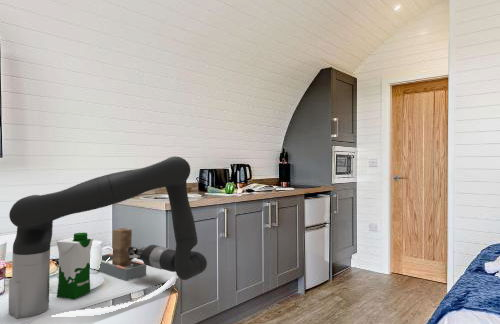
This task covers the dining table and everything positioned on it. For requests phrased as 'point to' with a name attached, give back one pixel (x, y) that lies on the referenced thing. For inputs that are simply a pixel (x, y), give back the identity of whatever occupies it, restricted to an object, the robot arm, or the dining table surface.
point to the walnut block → (121, 247)
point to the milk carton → (74, 266)
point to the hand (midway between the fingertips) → (129, 249)
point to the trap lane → (122, 269)
